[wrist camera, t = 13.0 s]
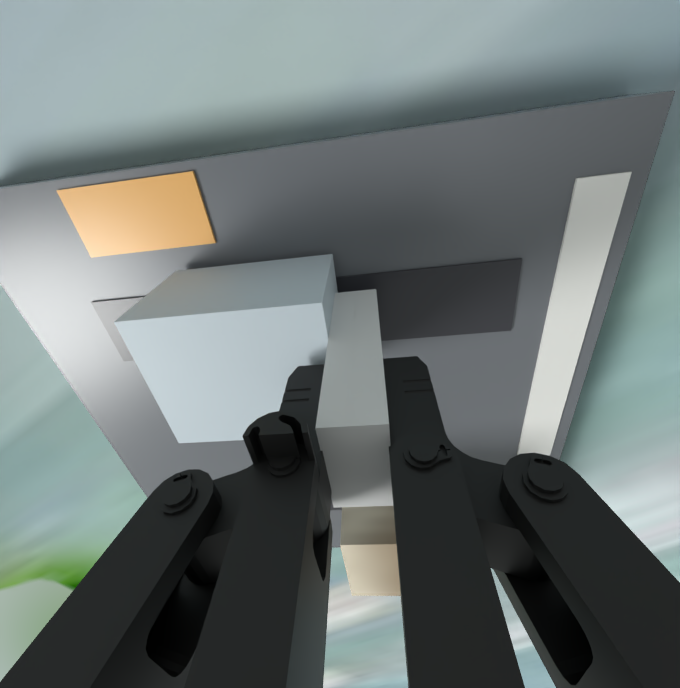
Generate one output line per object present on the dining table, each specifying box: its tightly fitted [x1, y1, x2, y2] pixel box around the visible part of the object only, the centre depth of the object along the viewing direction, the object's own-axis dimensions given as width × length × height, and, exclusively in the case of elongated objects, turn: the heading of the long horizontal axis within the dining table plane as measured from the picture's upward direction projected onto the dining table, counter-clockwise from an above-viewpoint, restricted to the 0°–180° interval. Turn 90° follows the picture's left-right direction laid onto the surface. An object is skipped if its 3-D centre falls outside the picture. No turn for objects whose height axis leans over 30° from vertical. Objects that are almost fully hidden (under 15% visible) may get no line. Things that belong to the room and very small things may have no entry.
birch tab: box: [340, 506, 401, 596], centre depth 18 cm, size 6×5×4 cm
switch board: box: [0, 91, 675, 547], centre depth 18 cm, size 24×24×2 cm
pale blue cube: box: [114, 254, 338, 443], centre depth 13 cm, size 6×5×4 cm
